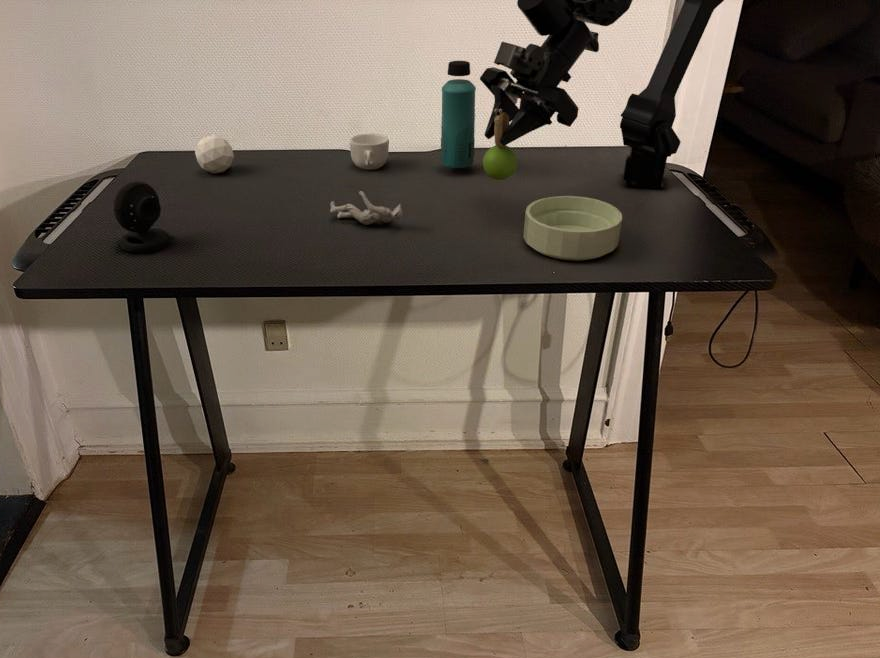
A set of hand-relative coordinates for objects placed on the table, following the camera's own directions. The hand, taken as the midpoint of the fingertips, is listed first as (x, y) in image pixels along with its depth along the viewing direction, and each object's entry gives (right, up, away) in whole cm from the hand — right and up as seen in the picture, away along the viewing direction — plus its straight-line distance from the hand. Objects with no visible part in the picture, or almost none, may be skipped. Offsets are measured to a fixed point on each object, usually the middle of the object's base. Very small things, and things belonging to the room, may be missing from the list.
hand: (493, 140), depth 113 cm
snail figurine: (+1, -5, +4) cm, 7 cm away
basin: (+12, -16, -1) cm, 20 cm away
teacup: (-21, +4, +30) cm, 37 cm away
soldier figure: (-20, -12, +7) cm, 24 cm away
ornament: (-51, +3, +30) cm, 59 cm away
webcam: (-55, -16, +1) cm, 57 cm away
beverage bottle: (-4, +3, +28) cm, 29 cm away
